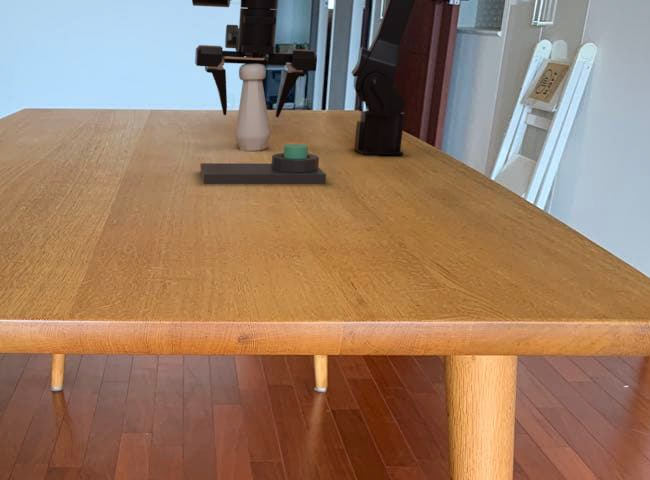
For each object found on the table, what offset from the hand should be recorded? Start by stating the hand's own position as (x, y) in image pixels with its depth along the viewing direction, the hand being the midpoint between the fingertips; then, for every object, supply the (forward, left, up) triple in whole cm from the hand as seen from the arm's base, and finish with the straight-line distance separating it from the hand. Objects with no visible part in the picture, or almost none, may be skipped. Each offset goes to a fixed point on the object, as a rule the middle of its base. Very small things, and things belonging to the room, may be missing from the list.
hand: (251, 115), depth 131 cm
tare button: (-3, +26, -2) cm, 27 cm away
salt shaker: (0, 0, -5) cm, 5 cm away
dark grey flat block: (+2, +26, -5) cm, 27 cm away
